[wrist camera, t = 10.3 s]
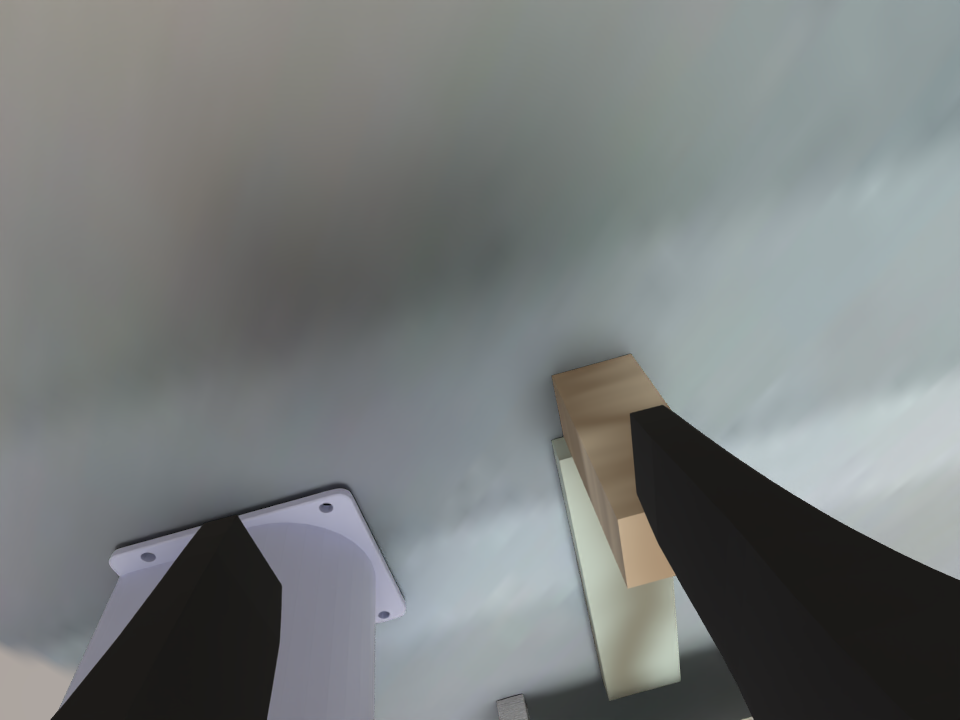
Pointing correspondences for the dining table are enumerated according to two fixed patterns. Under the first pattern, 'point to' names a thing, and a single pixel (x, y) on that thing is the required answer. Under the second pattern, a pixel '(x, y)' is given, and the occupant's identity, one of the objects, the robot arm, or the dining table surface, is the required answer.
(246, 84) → the dining table surface
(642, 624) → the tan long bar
